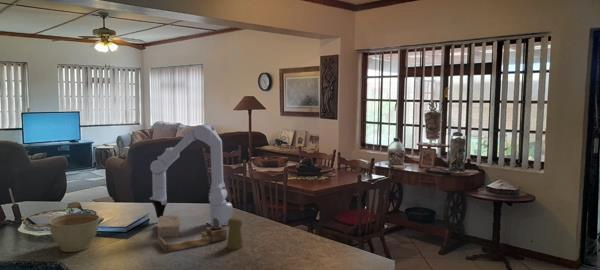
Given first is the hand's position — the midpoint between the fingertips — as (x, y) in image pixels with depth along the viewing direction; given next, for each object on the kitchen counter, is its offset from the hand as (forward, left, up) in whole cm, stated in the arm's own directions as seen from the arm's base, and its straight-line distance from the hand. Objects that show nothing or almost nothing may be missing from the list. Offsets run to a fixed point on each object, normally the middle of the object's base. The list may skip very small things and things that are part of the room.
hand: (159, 217), depth 190 cm
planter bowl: (+35, +17, -2) cm, 39 cm away
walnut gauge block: (-13, +34, -2) cm, 36 cm away
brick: (0, +14, -3) cm, 14 cm away
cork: (-15, +46, -2) cm, 48 cm away
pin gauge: (-13, +34, -2) cm, 36 cm away
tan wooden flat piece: (0, +33, -2) cm, 33 cm away
